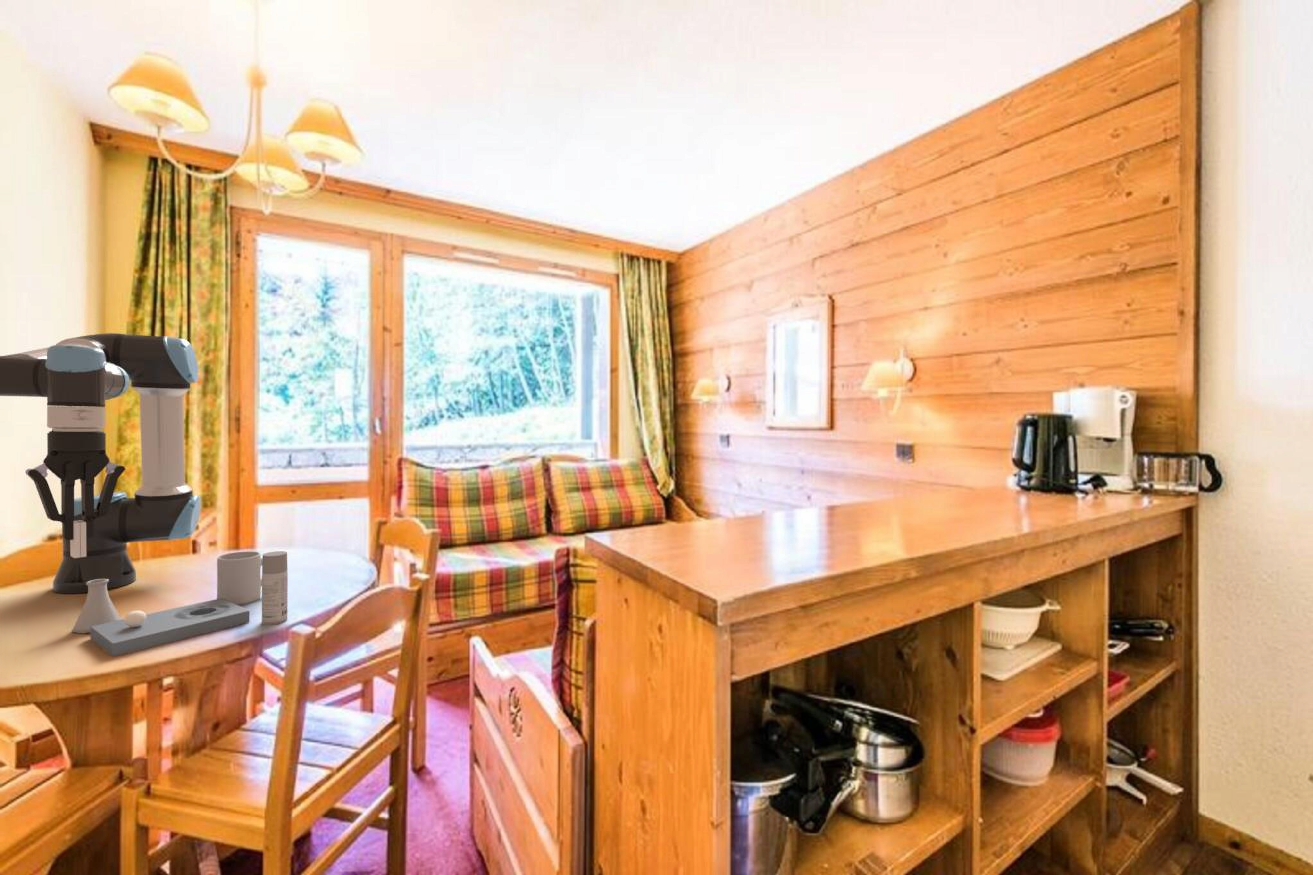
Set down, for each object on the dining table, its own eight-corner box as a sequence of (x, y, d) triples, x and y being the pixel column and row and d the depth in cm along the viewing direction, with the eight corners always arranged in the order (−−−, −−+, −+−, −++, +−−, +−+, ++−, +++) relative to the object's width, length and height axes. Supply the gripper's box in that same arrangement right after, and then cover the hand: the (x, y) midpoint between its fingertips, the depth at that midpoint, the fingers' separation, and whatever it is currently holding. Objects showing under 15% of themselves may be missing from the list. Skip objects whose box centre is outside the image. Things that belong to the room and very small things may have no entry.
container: (280, 615, 127) (281, 549, 126) (291, 619, 124) (291, 553, 124) (257, 621, 123) (257, 554, 122) (268, 626, 120) (268, 557, 120)
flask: (95, 621, 120) (94, 575, 120) (131, 621, 121) (131, 575, 121) (62, 634, 113) (61, 586, 113) (101, 634, 114) (100, 586, 113)
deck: (90, 638, 111) (90, 626, 111) (222, 608, 130) (222, 597, 130) (112, 656, 104) (112, 643, 104) (249, 621, 122) (249, 610, 122)
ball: (122, 627, 111) (122, 611, 111) (143, 622, 114) (143, 607, 114) (127, 631, 110) (127, 615, 109) (148, 626, 112) (148, 610, 112)
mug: (220, 608, 130) (220, 561, 130) (213, 599, 136) (213, 554, 135) (281, 597, 139) (281, 553, 138) (272, 589, 145) (272, 547, 144)
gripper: (29, 431, 96) (31, 567, 97) (131, 430, 107) (131, 552, 108) (19, 429, 100) (21, 560, 101) (118, 429, 111) (119, 546, 112)
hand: (78, 556), depth 104 cm, fingers closed
